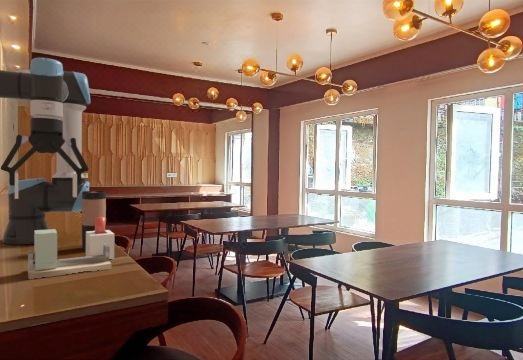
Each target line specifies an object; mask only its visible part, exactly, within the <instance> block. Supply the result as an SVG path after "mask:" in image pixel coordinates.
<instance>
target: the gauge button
mask: <svg viewBox="0 0 523 360" xmlns="http://www.w3.org/2000/svg"><path fill="white" fill-rule="evenodd" d="M95 234H105V217H95Z"/></svg>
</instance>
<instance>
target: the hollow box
mask: <svg viewBox="0 0 523 360" xmlns="http://www.w3.org/2000/svg"><path fill="white" fill-rule="evenodd" d="M103 244H108V245H109V246H110V257H109V259H112V260H115V232H112V231H111V230H110V229H106V230H105V234H95V231H86V251H85V257H86V256H95V255H104V254H103Z"/></svg>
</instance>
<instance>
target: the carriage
mask: <svg viewBox="0 0 523 360" xmlns="http://www.w3.org/2000/svg"><path fill="white" fill-rule="evenodd" d="M33 244H34V247H33V249H34V250H33V262H35V270H43V269H51V268H57V260H58V232H57V230H56V228H52V229H50V228H49V229H48V230H34V243H33Z"/></svg>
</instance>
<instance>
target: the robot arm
mask: <svg viewBox="0 0 523 360" xmlns="http://www.w3.org/2000/svg"><path fill="white" fill-rule="evenodd" d="M89 86H90V85H89V80H88V77H87V75H86V74H85V73H81V72H77V71H76V72H75V71H67V70H64V67H63V63H62V62H61V61H59V60H57V59H54V58H53V59H52V58H48V57H35V58H32V59H31V60H30V68H29V69H27V68H26V69H20V70H16V71H11V70H5V69H3V70H2V69H0V99H1V98H2V99H15V100H18V99H19V100H25V101H30V102H29V103H30V108H29V109H30V110H29V111H30V114H29V115H30V116H31V117H30V120H29V121H30V128H29V129H30V133H29V136H25V135H21V134H17V135H16V137H15V143H14V144H13V147H12V148H11V149H10V151H9V153H8V154H7V156H6V158H5V160H4V161H3V162H2V165H1V166H0V170H1V171H4V172H8V174H9V175H8V177H9V181H8V182H9V185H8V193H7V195H8V222H7V224H6V227H5V230H4V233H3V235H2V243H3V244H6V245H33V244H34V230H48V229H50V227H49V225H48V222H47V221H46V220H47V219H46V213H64V212H65V213H74V212H75V213H76V212H82V192H83V191H89V192H90V182H89V181H86V179H87V177H86V176H85V175H84V174H83V173H86V172H88V171H89V167H88V165H87V163H86V161H85V159H84V157H83V156H82V153H83V151H82V149H83V148H82V146H83V145H82V142H83V141H82V137H83V133H82V132H83V112H84V111H85V110H86V109H87V105H90V104H91V96H90V95H91V94H90V87H89ZM26 142H29V144H30V145H31V146H32V147H31V148H30V149H29V150H27V152H26V153H25V154H24V155H23V156H22V157H21V158H20V159H18V160H17V161H16V162H15V163H14V164H13V166H10V167H9V165H10V164H11V163H12V160H13V158H14V157H15V156H16V154H17V152H18V151H19V149H20V147H21V145H23V144H25V143H26ZM36 152H37V153H40V154H46V153H48V154H56V172H55V174H53V175H52V176H51V181H47V180H46V178H45V177H40V178H39V177H38V178H37V177H36V178H28V179H19V173H18V172H16V171H17V170H18V169H19V168H20V167H21V166H22V165H23V164H24V163H26V162H27V160H29V159H30V158H31V157H32V156H33V155H34V154H35V153H36Z"/></svg>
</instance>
